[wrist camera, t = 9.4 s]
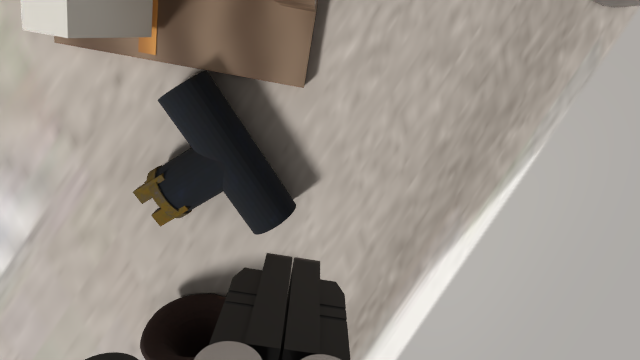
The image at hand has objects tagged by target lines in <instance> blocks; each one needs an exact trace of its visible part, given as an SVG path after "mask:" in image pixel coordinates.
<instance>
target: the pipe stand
mask: <svg viewBox="0 0 640 360" xmlns="http://www.w3.org/2000/svg"><path fill="white" fill-rule="evenodd" d="M317 5H318V0H316V3H315V0H153V8H152V35H151V37H127V38H64V37H58V36H54V39H55V43H60V44H66V45H71V46H77V47H82V48H88V49H93V50H99V51H104V52H110V53H115V54H121V55H126V56H132V57H137V58H143V59H148V60H154V61H159V62H165V63H170V64H176V65H181V66H187V67H192V68H198V69H203V70H209V71H214V72H220V73H225V74H231V75H236V76H241V77H247V78H252V79H258V80H263V81H269V82H274V83H280V84H285V85H291V86H296V87H302V88H304V85H305V78H306V72H307V66H308V60H309V54H310V48H311V42H312V35H313V29H314V23H315V17H316V11H317Z"/></svg>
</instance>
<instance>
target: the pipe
mask: <svg viewBox="0 0 640 360" xmlns="http://www.w3.org/2000/svg"><path fill="white" fill-rule="evenodd" d="M225 299H226V297H222V296H219V295H217V294H211V293H208V294H196V295H188V296H185V297H182V298H179V299H176V300H174V301H172V302H170V303H168V304H167V305H165V306H163V307H162V308H161V309H159V310H158V311H157V312H156V313H155V314H154V315H153V317H152V318H151V319H150V320H149V322H148V323H147V325H146V327H145V329H144V331H143V334H142V337H141V342H140V349H141V352H142V355H143V356H144V358H145V359H146V360H194V359H195V357H196V355H197V354H198V353H199V352H200V351H201V350H203V349H204V348H206V347H207V346H208V345H209V343H210V340H211V337H212V335H213V332H214V329H215V326H216V323H217V321H218V318H219V315H220V312H221V310H222V307H223V304H224V302H225Z"/></svg>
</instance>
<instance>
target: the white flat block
mask: <svg viewBox="0 0 640 360" xmlns="http://www.w3.org/2000/svg"><path fill="white" fill-rule="evenodd" d="M152 8H153V0H21V15H22V30H26V31H31V32H37V33H42V34H48V35H53V36H58V37H64V38H127V37H151V35H152Z"/></svg>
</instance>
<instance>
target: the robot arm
mask: <svg viewBox="0 0 640 360" xmlns="http://www.w3.org/2000/svg"><path fill="white" fill-rule="evenodd" d="M593 1H595V2H597V3H599V4H601V5H603V6H609V7H629V6H640V0H593ZM291 264H292V257H289V256H283V255H277V254H270V253H267V255H266V259H265V263H264V267H263V271H262V270H256V269H249V268H244V269H243V270H242V271H240V272H239V273H238V274H237V275H236V276H234V277H233V279H232V282H231V285H230V288H229V291H228V293H227V296H226V299H225V302H224V304H223V307H222V310H221V312H220V315H219V318H218V321H217V323H216V326H215V329H214V332H213V335H212V337H211V340H210V343H209V345H208V346H207V347H206V348H204V349H203V350H201V351H200V352H199V353H198V354H197V355H196V357H195V359H194V360H350V352H349V340H348V329H347V322H346V319H347V318H346V310H345V308H346V307H345V296H344V293H343V292H342V290H341V289H340V287H339V286H338V284H337V283H336V282H333V281H327V280H321V279H320V261H315V260H309V259H303V258H296V257H295V258H294V262H293V268H292V273H291V279H290V272H291ZM289 279H290V284H289ZM288 287H289V290H288ZM287 295H288V296H287ZM85 360H138V359H137V358H135V357H134V356H131V355H128V354H124V353H104V354H99V355H96V356H92V357H90V358H88V359H85Z"/></svg>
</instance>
